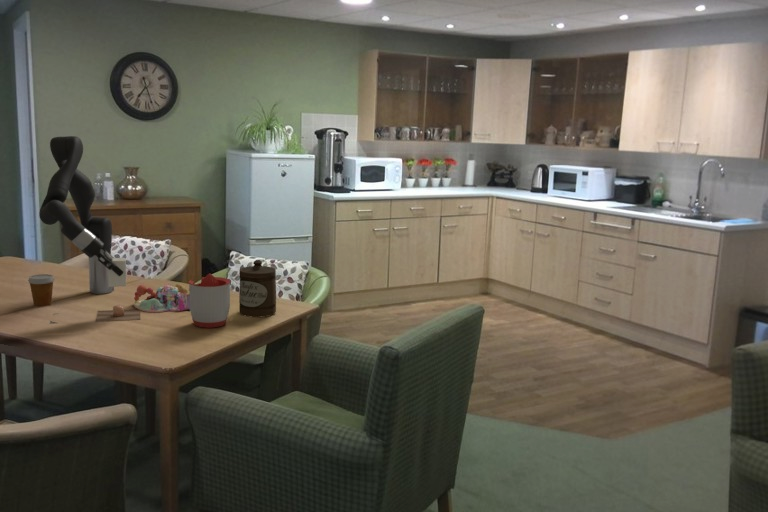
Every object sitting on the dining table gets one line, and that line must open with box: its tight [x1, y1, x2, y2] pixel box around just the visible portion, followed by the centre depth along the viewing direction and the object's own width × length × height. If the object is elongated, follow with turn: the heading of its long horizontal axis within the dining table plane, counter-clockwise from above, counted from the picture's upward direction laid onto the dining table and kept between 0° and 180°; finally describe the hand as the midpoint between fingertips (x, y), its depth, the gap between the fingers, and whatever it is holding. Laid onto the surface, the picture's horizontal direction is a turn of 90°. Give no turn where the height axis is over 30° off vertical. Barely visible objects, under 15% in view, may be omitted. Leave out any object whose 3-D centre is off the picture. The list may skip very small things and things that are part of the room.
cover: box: [108, 257, 127, 288], centre depth 272 cm, size 6×6×10 cm
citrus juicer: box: [188, 273, 232, 329], centre depth 269 cm, size 16×17×20 cm
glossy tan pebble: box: [112, 304, 125, 317], centre depth 275 cm, size 4×4×4 cm
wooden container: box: [238, 259, 277, 318], centre depth 287 cm, size 15×15×22 cm
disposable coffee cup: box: [27, 273, 55, 307], centre depth 286 cm, size 10×10×12 cm
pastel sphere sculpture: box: [133, 283, 190, 314], centre depth 292 cm, size 25×24×9 cm
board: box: [95, 308, 141, 323], centre depth 275 cm, size 16×16×1 cm
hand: (121, 272), depth 272 cm, fingers closed on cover, 6 cm apart
